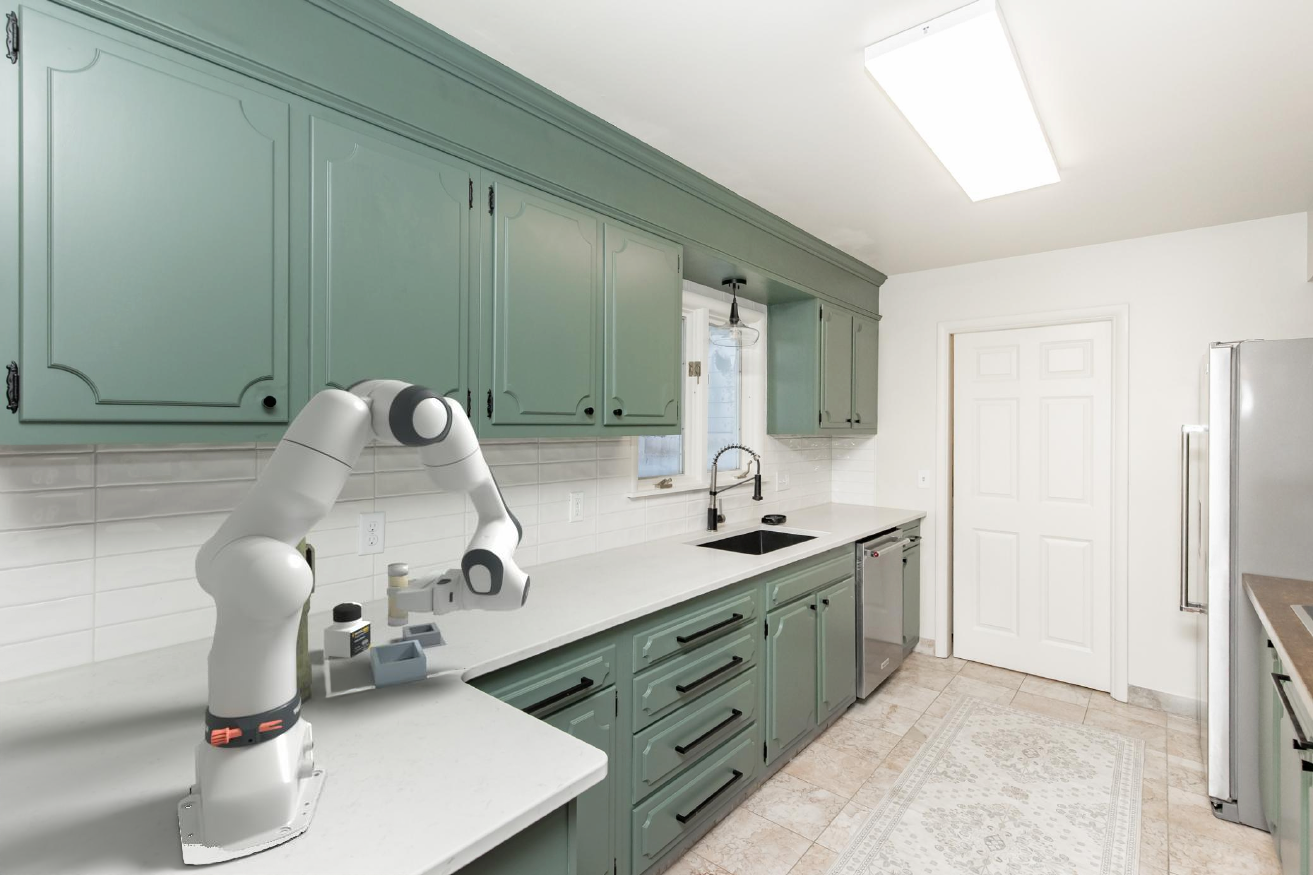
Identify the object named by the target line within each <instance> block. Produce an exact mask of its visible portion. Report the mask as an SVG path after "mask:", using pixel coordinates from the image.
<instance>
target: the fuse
mask: <svg viewBox="0 0 1313 875" xmlns="http://www.w3.org/2000/svg"><path fill="white" fill-rule="evenodd" d="M387 576H388V578H387V579H388V580H387V582H388V583H387V586H388V587H387V588H389V587H391V586H398V587H399V588H403V587H406V586H408V580H409V563H407V562H397V563H396V562H395V563H390V564H388V565H387ZM387 598H388V599H387V600H388V601H387V626H389V627H393V628H394V627H395V628H396V627H404V626H407V624H409V612H407V611H400V610H398V609H396V607H395V596H388V595H387Z"/></svg>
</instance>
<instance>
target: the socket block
mask: <svg viewBox="0 0 1313 875" xmlns="http://www.w3.org/2000/svg"><path fill="white" fill-rule="evenodd" d="M396 640H397V643H400V642H406V641H412V640H418V641H419V643H420V645H421V648H422V650H425V649H426V650H427V649H430V648H431V649H432V648H436V647H442V646H446V645H447V643H446V641H445V640H444V638H443V636H442V634H441V630H440V629H439V627H438V625H437V622H435V621H433V622H427V623H421V624H413V625H405V626H402V637H397V638H396Z"/></svg>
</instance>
